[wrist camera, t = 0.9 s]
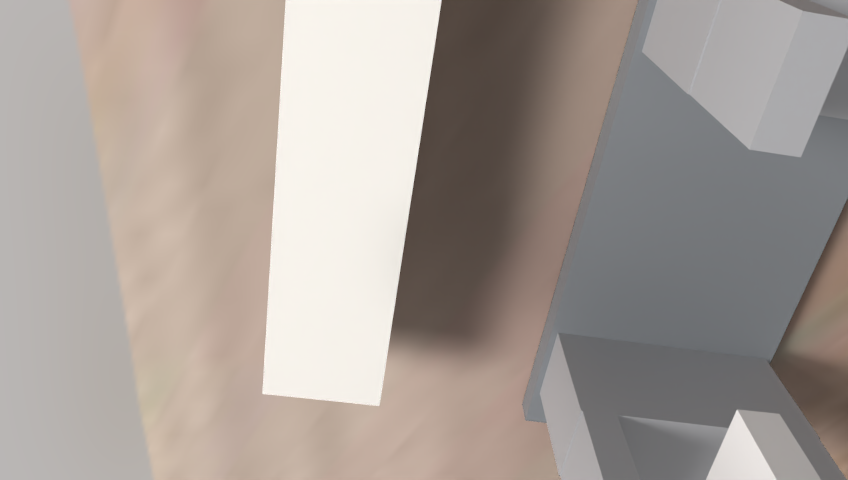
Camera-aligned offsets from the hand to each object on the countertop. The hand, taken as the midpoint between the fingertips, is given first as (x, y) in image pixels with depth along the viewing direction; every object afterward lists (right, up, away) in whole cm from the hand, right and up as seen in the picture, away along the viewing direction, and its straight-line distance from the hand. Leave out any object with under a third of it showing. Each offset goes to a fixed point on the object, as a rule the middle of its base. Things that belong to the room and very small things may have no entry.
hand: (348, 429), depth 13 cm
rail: (-1, +8, +13) cm, 15 cm away
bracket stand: (+12, +4, +15) cm, 19 cm away
